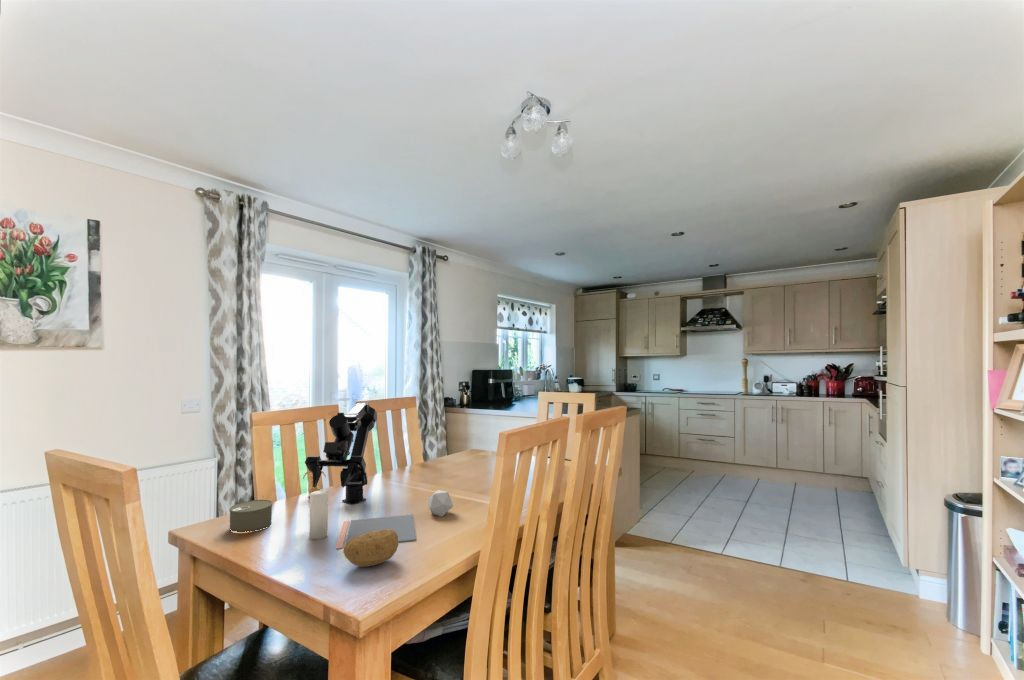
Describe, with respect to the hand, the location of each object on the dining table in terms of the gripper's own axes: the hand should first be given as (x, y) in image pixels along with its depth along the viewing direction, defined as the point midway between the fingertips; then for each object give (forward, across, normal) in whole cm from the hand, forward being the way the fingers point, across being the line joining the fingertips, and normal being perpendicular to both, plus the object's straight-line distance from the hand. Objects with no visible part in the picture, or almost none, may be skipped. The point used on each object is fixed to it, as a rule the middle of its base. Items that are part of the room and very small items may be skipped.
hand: (328, 486), depth 143 cm
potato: (+28, +22, -9) cm, 37 cm away
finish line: (+13, +7, +5) cm, 16 cm away
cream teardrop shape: (+14, 0, +4) cm, 15 cm away
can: (+9, -25, +10) cm, 28 cm away
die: (+1, +34, +18) cm, 38 cm away
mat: (+11, +18, +7) cm, 22 cm away
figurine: (-14, -19, +32) cm, 40 cm away
